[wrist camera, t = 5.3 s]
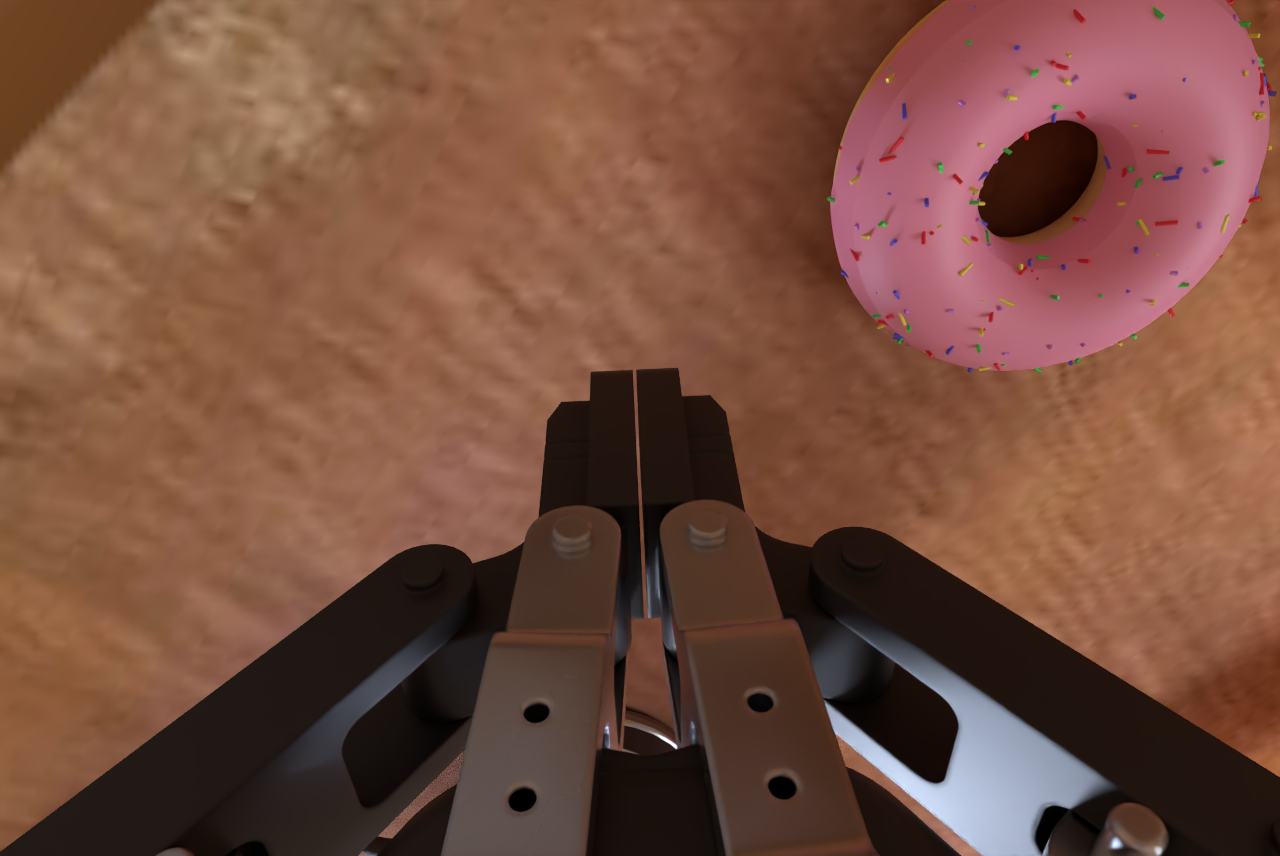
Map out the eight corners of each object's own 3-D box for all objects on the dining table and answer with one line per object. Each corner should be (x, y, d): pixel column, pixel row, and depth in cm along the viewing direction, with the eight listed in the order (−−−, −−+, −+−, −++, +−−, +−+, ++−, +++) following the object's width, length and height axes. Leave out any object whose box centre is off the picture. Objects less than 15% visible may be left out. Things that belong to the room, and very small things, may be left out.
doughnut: (925, -129, 21) (989, -115, 18) (1304, 15, 23) (1425, 52, 20) (757, 280, 27) (781, 349, 24) (1073, 364, 29) (1136, 439, 26)
